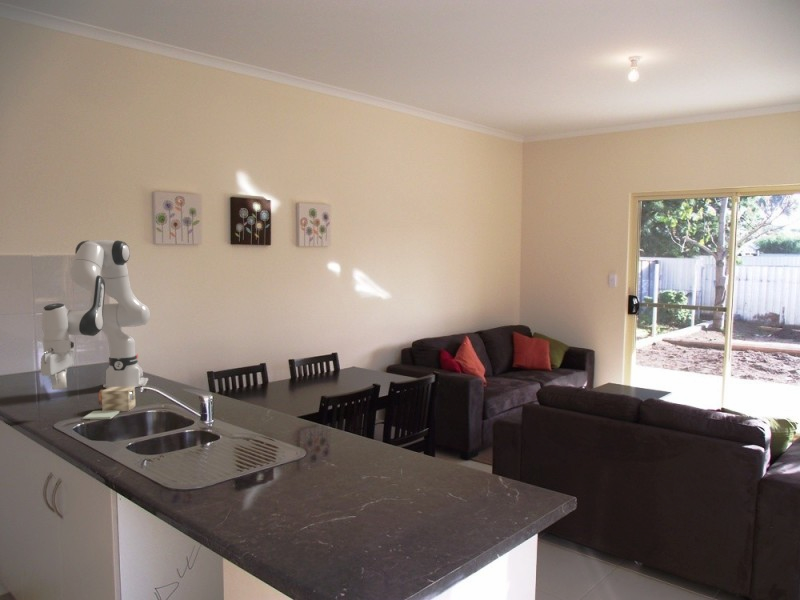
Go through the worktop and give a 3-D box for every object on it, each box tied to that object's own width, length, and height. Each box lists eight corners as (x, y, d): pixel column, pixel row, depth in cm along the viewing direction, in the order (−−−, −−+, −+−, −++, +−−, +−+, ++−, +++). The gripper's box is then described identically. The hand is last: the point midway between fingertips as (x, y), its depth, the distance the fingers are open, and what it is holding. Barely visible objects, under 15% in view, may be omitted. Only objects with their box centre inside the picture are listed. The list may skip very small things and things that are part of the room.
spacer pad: (93, 412, 243) (93, 410, 243) (120, 412, 244) (119, 410, 244) (82, 419, 233) (82, 417, 233) (110, 418, 234) (110, 416, 234)
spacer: (55, 386, 241) (54, 371, 241) (69, 386, 242) (68, 371, 241) (49, 389, 236) (48, 374, 236) (63, 389, 237) (62, 373, 236)
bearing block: (102, 412, 245) (101, 391, 244) (110, 406, 252) (109, 386, 252) (128, 411, 245) (127, 390, 245) (135, 406, 253) (134, 386, 253)
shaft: (98, 406, 245) (97, 391, 245) (104, 402, 251) (103, 388, 251) (129, 405, 246) (128, 390, 246) (134, 401, 252) (133, 387, 252)
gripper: (52, 351, 227) (55, 388, 229) (76, 342, 247) (78, 376, 249) (34, 351, 227) (37, 389, 228) (60, 342, 247) (62, 376, 248)
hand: (59, 382), depth 239 cm, fingers closed on spacer, 5 cm apart
